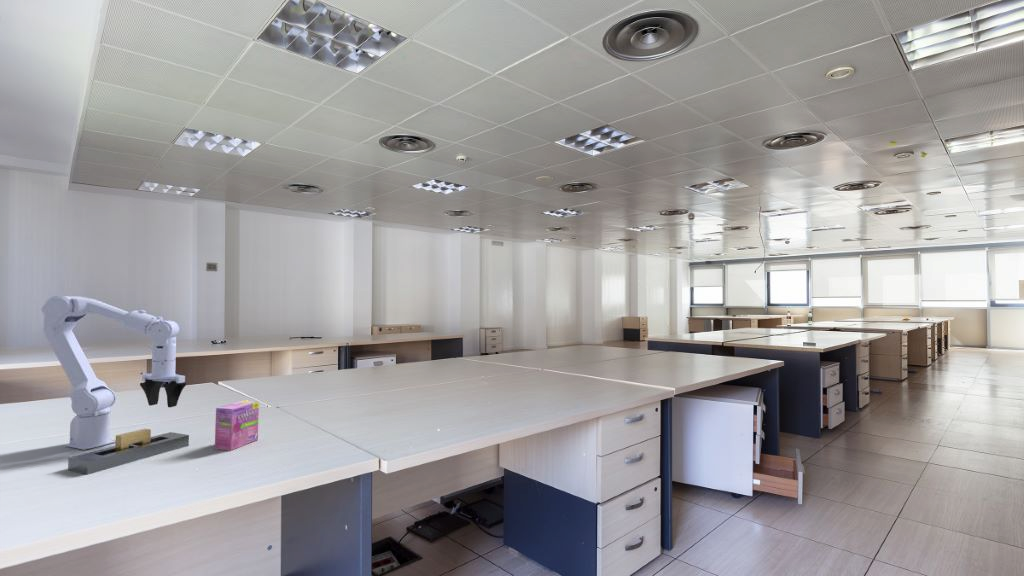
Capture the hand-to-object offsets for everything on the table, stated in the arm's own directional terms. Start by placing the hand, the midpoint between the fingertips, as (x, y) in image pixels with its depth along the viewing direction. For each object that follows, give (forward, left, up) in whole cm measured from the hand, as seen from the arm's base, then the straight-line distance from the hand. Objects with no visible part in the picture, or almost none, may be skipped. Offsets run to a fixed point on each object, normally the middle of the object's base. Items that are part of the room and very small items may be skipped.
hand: (162, 405), depth 137 cm
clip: (+8, -12, -10) cm, 18 cm away
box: (+24, +6, -11) cm, 27 cm away
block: (+8, -12, -10) cm, 18 cm away
